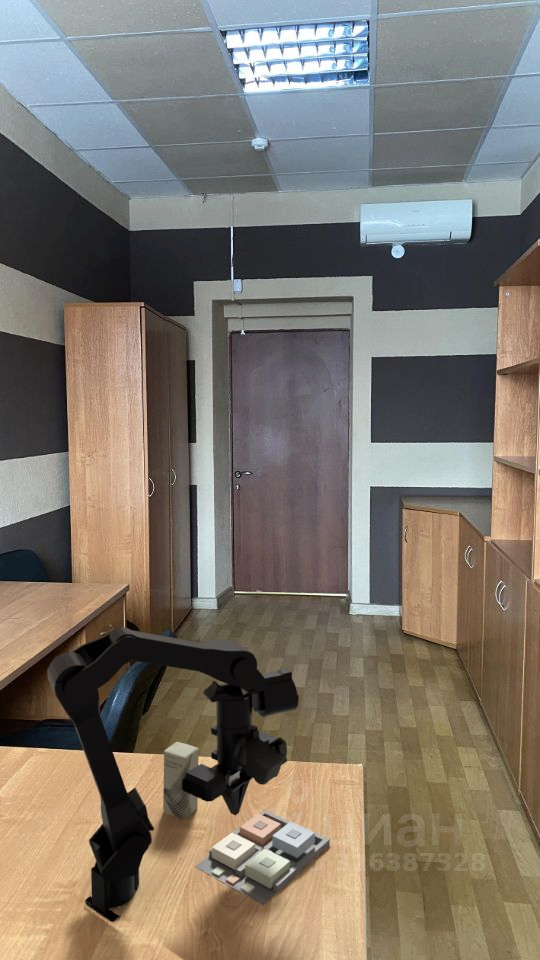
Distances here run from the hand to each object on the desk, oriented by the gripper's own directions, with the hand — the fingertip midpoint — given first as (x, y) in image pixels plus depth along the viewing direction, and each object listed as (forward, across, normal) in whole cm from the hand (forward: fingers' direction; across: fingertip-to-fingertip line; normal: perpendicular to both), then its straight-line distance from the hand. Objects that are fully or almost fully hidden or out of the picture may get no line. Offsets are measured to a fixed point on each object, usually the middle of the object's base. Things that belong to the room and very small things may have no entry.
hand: (234, 813), depth 112 cm
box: (+9, +4, +17) cm, 19 cm away
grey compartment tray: (+9, +3, -3) cm, 10 cm away
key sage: (+7, 0, -7) cm, 10 cm away
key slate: (+6, +7, -7) cm, 11 cm away
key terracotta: (+7, +7, 0) cm, 10 cm away
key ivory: (+7, 0, 0) cm, 7 cm away
